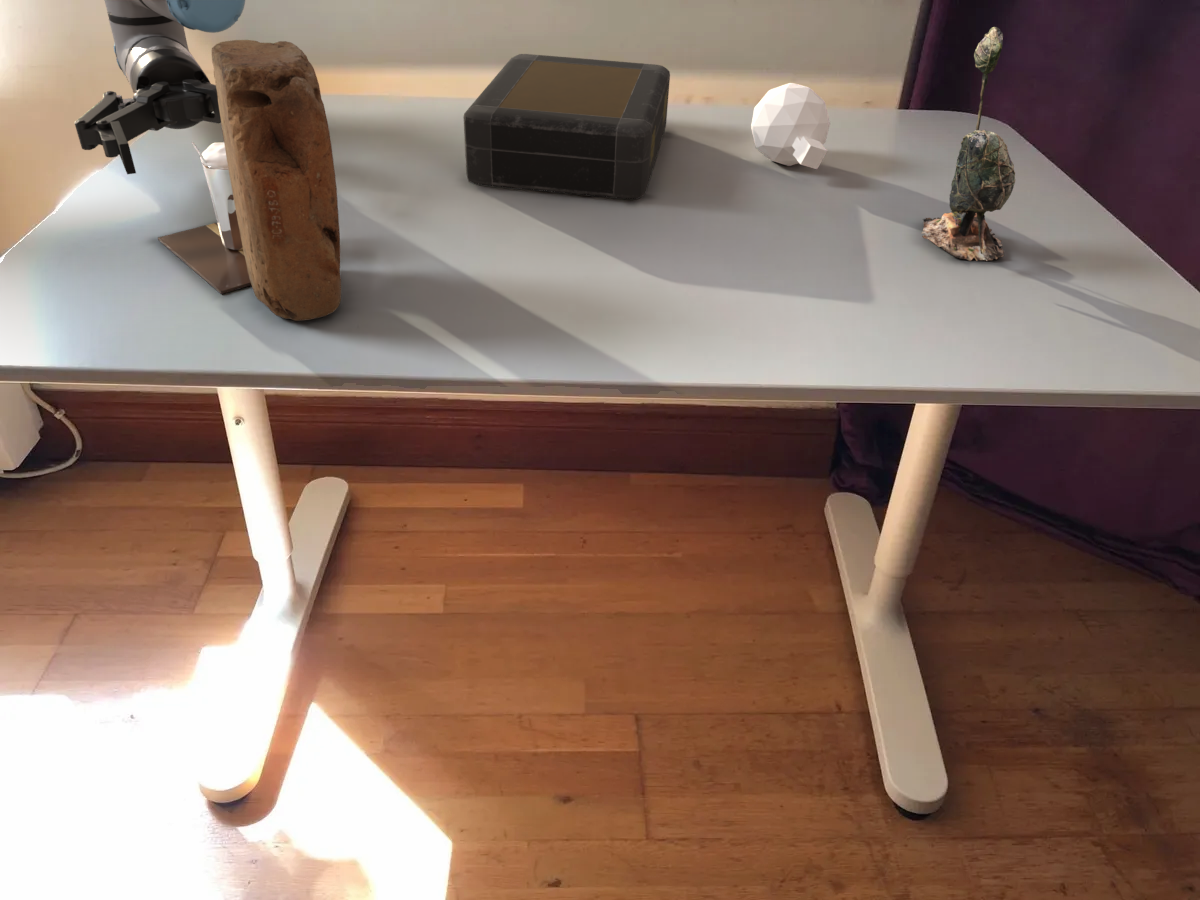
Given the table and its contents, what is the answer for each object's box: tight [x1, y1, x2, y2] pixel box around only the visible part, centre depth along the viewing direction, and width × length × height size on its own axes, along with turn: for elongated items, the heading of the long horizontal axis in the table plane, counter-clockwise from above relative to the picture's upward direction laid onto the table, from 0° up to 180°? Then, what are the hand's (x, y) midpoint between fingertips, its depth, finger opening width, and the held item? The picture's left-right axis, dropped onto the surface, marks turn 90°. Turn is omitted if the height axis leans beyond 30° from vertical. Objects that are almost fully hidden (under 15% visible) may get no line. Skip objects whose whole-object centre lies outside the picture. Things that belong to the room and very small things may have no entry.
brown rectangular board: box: [157, 221, 252, 295], centre depth 88 cm, size 14×10×1 cm
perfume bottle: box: [750, 82, 831, 170], centre depth 109 cm, size 9×9×12 cm
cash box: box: [463, 53, 671, 201], centre depth 109 cm, size 25×20×8 cm
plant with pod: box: [921, 26, 1016, 262], centre depth 89 cm, size 8×11×20 cm
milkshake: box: [191, 141, 243, 250], centre depth 85 cm, size 4×5×10 cm
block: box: [211, 39, 342, 322], centre depth 75 cm, size 11×8×20 cm
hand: (207, 149), depth 88 cm, fingers open, 13 cm apart
